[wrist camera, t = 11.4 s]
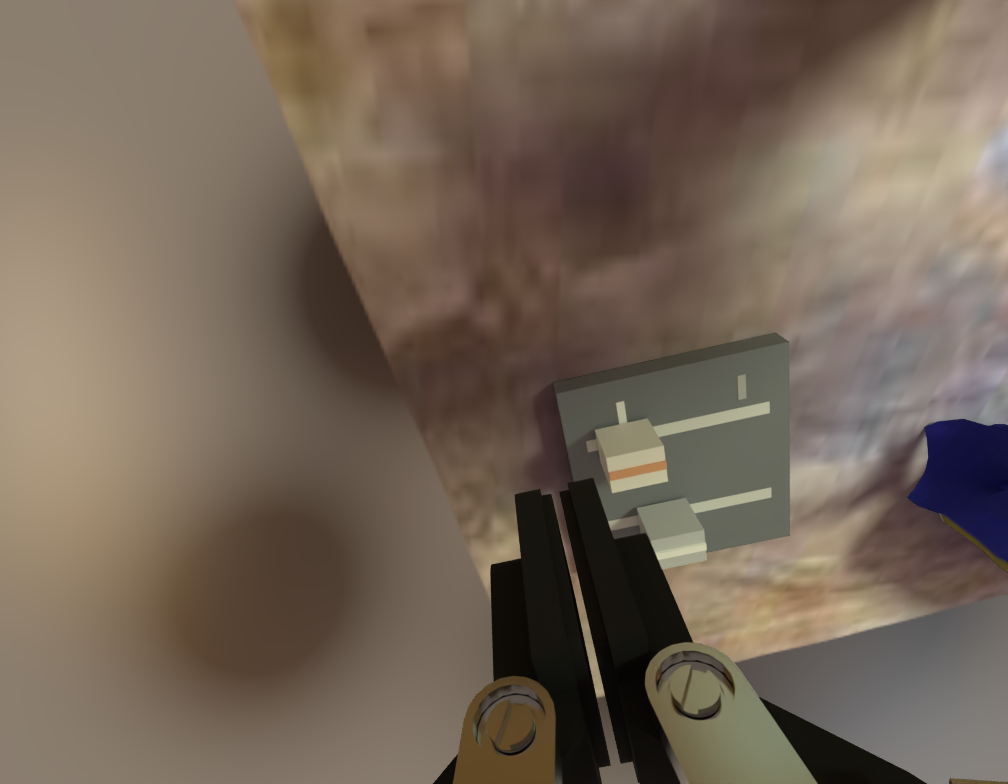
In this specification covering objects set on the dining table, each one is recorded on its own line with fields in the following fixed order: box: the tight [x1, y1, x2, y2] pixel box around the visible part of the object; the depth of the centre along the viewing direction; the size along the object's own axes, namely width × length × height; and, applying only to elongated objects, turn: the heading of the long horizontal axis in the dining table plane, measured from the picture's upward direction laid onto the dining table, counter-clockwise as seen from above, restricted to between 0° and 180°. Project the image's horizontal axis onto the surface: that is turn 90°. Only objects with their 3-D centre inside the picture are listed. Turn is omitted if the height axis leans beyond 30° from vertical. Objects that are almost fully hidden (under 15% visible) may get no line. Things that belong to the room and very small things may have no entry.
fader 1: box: [595, 418, 668, 493], centre depth 40 cm, size 4×3×4 cm
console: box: [553, 333, 790, 553], centre depth 44 cm, size 17×18×2 cm
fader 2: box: [637, 498, 707, 569], centre depth 43 cm, size 4×3×4 cm
